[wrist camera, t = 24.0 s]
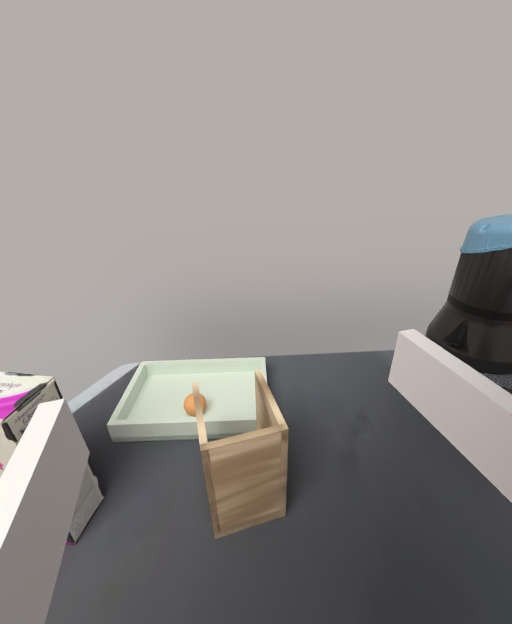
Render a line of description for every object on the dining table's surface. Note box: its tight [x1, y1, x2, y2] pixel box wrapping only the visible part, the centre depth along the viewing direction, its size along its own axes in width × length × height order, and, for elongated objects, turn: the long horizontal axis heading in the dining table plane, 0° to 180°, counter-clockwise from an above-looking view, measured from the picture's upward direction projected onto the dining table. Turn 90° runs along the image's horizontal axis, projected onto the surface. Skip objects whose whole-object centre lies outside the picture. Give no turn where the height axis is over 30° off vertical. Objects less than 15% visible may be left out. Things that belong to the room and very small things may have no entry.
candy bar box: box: [0, 371, 104, 545], centre depth 26 cm, size 11×5×16 cm, turn 81°
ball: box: [184, 393, 206, 416], centre depth 40 cm, size 3×3×3 cm
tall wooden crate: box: [192, 369, 289, 539], centre depth 29 cm, size 8×7×12 cm
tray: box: [107, 357, 267, 442], centre depth 42 cm, size 20×13×3 cm, turn 91°
